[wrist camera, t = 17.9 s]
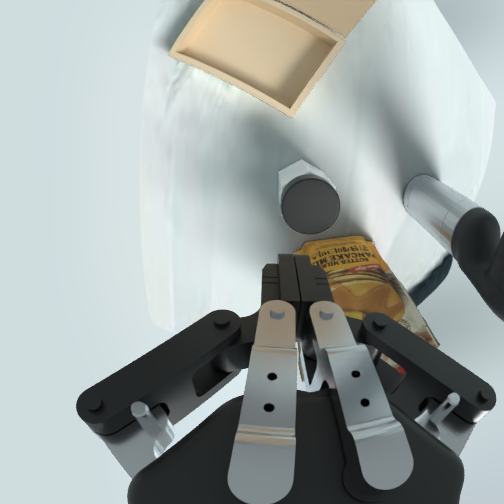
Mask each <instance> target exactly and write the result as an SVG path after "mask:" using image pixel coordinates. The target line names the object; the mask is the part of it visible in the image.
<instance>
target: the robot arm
mask: <svg viewBox="0 0 504 504" xmlns="http://www.w3.org/2000/svg"><path fill="white" fill-rule="evenodd" d="M403 200H404V206H405V209H406V211H407V212H408V213H409V215H410V216H412V217H413V218H414V219H415V220H416V221H417V222H418V223H419V224H420V225H421V226H422V227H423V228H425V229H426V230H427V231H428V232H429V233H430V234H431V235H432V236H433V237H434V238H435V239H436V240H437V241H438V242H439V243H440V244H441V245H442V246H443V247H444V248H445V249H446V250H447V251H448V252H449V253H450V254H451V255H452V256H453V257H454V258H455V259H456V260H457V262H458V264H459V267H460V268H461V270H462V271H463V272H464V274H465V275H466V276H467V277H468V279H469V280H470V281H471V283H472V284H473V285H474V287H475V288H476V290H477V291H478V293H479V294H480V295H481V297H482V298H483V300H484V301H485V302H486V304H487V305H488V306H489V308H490V309H491V310H492V311H493V312H494V313H495V314H496V315H497V316H498V317H499V318H500V319H501V320H503V321H504V232H503V235H502V236H501V239H500V226H499V223H498V221H497V219H496V218H495V217H494V216H493V215H492V214H491V213H490V212H488V211H487V210H485V209H484V208H482V207H481V206H479V205H478V204H476V203H475V202H473V201H472V200H470V199H468V198H467V197H465V196H464V195H462V194H460V193H459V192H457V191H455V190H454V189H452V188H450V187H449V186H447V185H445V184H443V183H442V182H440V181H438V180H436V179H435V178H433V177H431V176H429V175H419V176H416V177H415V178H413V179H412V180H411V181H410V182H409V184H408V185H407V187H406V189H405V192H404V199H403ZM295 342H301V343H302V349H301V354H300V358H301V363H302V368H303V374H304V379H305V384H306V390H307V392H306V391H301V390H297V348H295ZM383 354H384V355H385V356H387V357H388V358H390V359H391V360H392V361H394V362H395V363H397V364H398V365H399V366H401V367H402V368H403V369H404V370H405V372H406V375H404V374H402V373H400V372H399V371H398V370H396V369H395V368H393V367H392V366H391V365H389V364H388V363H387V362H385V361H384V360H382V359H381V357H382V355H383ZM245 368H248V375H247V380H246V385H245V391H244V395H242V396H239V397H236V398H233V399H231V400H229V401H228V402H226V403H224V404H223V405H221V406H220V407H219V408H218V409H216V410H215V411H214V412H213V413H212V414H211V415H210V416H208V417H207V418H206V419H205V420H204V421H203V422H202V423H200V424H199V425H198V426H197V427H196V428H194V429H193V430H192V431H191V432H190V433H188V434H187V435H186V436H185V437H183V438H182V439H181V440H180V441H178V442H177V443H176V444H175V445H174V446H172V447H171V448H170V449H168V450H167V451H166V452H164V450H165V449H166V447H167V446H168V445H169V444H170V443H171V442H172V440H173V439H174V434H175V431H174V427H173V425H174V424H176V423H177V422H178V421H180V420H181V419H183V418H184V417H186V416H187V415H188V414H189V413H191V412H192V411H193V410H195V409H196V408H197V407H199V406H200V405H201V404H202V403H204V402H205V401H206V400H208V399H209V398H210V397H211V396H212V395H214V394H215V393H216V392H218V391H219V390H220V389H221V388H222V387H224V386H225V385H226V384H227V383H229V382H230V381H231V380H232V379H233V378H234V377H235V376H237V375H238V374H239V373H240V371H241V369H245ZM495 403H496V394H495V392H494V389H493V388H492V387H491V386H490V385H489V384H488V383H486V382H485V381H483V380H482V379H481V378H479V377H478V376H476V375H475V374H474V373H472V372H471V371H469V370H468V369H466V368H465V367H463V366H462V365H460V364H459V363H457V362H456V361H455V360H453V359H452V358H450V357H449V356H447V355H445V354H444V353H443V352H441V351H440V350H438V349H437V348H435V347H434V346H432V345H431V344H429V343H428V342H426V341H425V340H423V339H422V338H420V337H419V336H417V335H416V334H414V333H413V332H411V331H410V330H408V329H407V328H405V327H404V326H402V325H401V324H399V323H398V322H396V321H395V320H393V319H392V318H390V317H389V316H387V315H385V314H383V313H378V312H372V313H369V314H367V315H366V316H365V317H364V319H363V320H360V319H356V318H351V317H348V316H346V315H344V312H343V310H342V309H341V307H340V306H338V305H337V304H335V302H334V299H333V295H332V292H331V289H330V285H329V282H328V279H327V275H326V272H325V271H324V270H323V269H322V268H321V267H320V266H319V265H312V264H311V261H310V257H309V255H299V254H294V256H293V254H278V258H277V264H266V265H265V267H264V268H263V269H262V290H261V307H260V309H259V310H258V311H257V312H256V313H254V314H252V315H250V316H246V317H241V318H240V317H239V316H238V315H237V314H236V313H234V312H232V311H229V310H216V311H213V312H211V313H209V314H207V315H206V316H204V317H203V318H201V319H200V320H198V321H197V322H195V323H194V324H192V325H190V326H189V327H187V328H186V329H184V330H183V331H181V332H180V333H178V334H176V335H175V336H173V337H172V338H170V339H169V340H167V341H165V342H164V343H162V344H161V345H159V346H157V347H156V348H154V349H153V350H151V351H149V352H148V353H146V354H145V355H143V356H141V357H140V358H138V359H137V360H135V361H133V362H132V363H130V364H128V365H127V366H125V367H124V368H122V369H120V370H119V371H117V372H115V373H114V374H112V375H110V376H109V377H107V378H105V379H104V380H102V381H100V382H99V383H97V384H95V385H94V386H92V387H90V388H88V389H87V390H85V391H84V392H83V393H82V394H81V395H80V396H79V398H78V400H77V404H76V409H77V412H78V415H79V416H80V418H81V419H82V420H83V421H84V422H85V423H86V424H87V425H88V426H89V427H90V429H91V430H92V431H93V432H94V433H95V434H96V435H97V436H98V437H99V438H101V439H102V440H103V441H104V442H105V444H106V445H107V447H108V448H109V449H110V450H111V452H112V454H113V455H114V456H115V458H116V459H117V460H118V462H119V463H120V464H121V465H122V467H123V468H124V469H125V470H126V472H127V473H128V474H129V476H130V477H131V478H132V481H131V483H130V485H129V488H128V495H127V498H128V504H459V500H460V494H461V490H462V486H463V482H464V467H463V463H462V461H461V459H460V457H459V455H460V453H461V451H462V450H463V448H464V446H465V444H466V442H467V440H468V438H469V436H470V434H471V432H472V430H473V428H474V426H475V424H476V423H477V422H479V421H480V420H481V419H482V418H483V417H484V416H485V415H486V414H487V413H488V412H489V411H490V410H491V409H492V408H493V407H494V406H495ZM163 452H164V453H163Z"/></svg>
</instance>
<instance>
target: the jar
mask: <svg viewBox="0 0 504 504" xmlns="http://www.w3.org/2000/svg"><path fill="white" fill-rule="evenodd" d="M278 196H279V203H280V210H281V216H283V218H284V220H285V222H286V223H287V224H288V225H289V226H290V227H291V228H292V229H293V230H295V231H297V232H299V233H303V234H317V233H320V232H323V231H325V230H326V229H328V228H329V227H330V226H331V225H332V224H333V223H334V222H335V220H336V219H337V217H338V214H339V211H340V200H339V196H338V194H337V192H336V186H335V185H334V184H333V183H332V182H331V180H330V179H329V178H328V177H327V176H326V175H325V174H324V172H322V171H321V170H319V169H317V168H316V167H314V166H312V165H311V164H309V163H307V162H306V161H304V160H302V159H300V160H299V161H297V162H295V163H293V164H291V165H289V166H288V167H286V168H284V169H282V170H280V171H279V172H278Z"/></svg>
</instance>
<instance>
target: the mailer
mask: <svg viewBox="0 0 504 504" xmlns="http://www.w3.org/2000/svg"><path fill="white" fill-rule="evenodd" d="M345 43H346V41H345V40H344V39H342V38H341V37H339V36H338V35H336V34H335V33H333V32H332V31H330V30H328V29H327V28H325V27H324V26H322V25H320V24H319V23H317V22H315V21H313V20H312V19H310V18H308V17H306V16H304V15H303V14H301V13H299V12H297V11H295V10H293V9H291V8H289V7H287V6H285V5H283V4H281V3H279V2H277V1H274V0H204V2H203V3H202V4H201V6H200V7H199V8H198V10H197V11H196V12H195V14H194V15H193V16H192V18H191V19H190V21H189V22H188V23H187V25H186V26H185V28H184V29H183V31H182V32H181V34H180V35H179V37H178V38H177V40H176V42H175V43H174V45H173V46H172V48H171V50H170V51H169V53H168V56H170V57H172V58H174V59H176V60H179V61H181V62H183V63H186V64H188V65H191V66H193V67H195V68H197V69H200V70H202V71H204V72H206V73H209V74H211V75H213V76H215V77H217V78H219V79H221V80H223V81H225V82H227V83H229V84H231V85H233V86H235V87H237V88H239V89H241V90H243V91H245V92H247V93H249V94H250V95H252V96H254V97H256V98H258V99H260V100H261V101H263V102H265V103H267V104H268V105H270V106H272V107H273V108H275V109H277V110H278V111H280V112H282V113H283V114H285V115H287V116H288V117H290V118H293V116H294V115H295V113H296V112H297V110H298V109H299V108H300V106H301V105H302V103H303V102H304V100H305V99H306V97H307V96H308V94H309V93H310V92H311V90H312V89H313V87H314V86H315V84H316V83H317V82H318V80H319V79H320V77H321V76H322V74H323V73H324V72H325V70H326V69H327V67H328V66H329V65H330V63H331V62H332V60H333V59H334V58H335V56H336V55H337V54H338V52H339V51H340V50H341V48H342V47H343V45H344V44H345Z"/></svg>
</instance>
